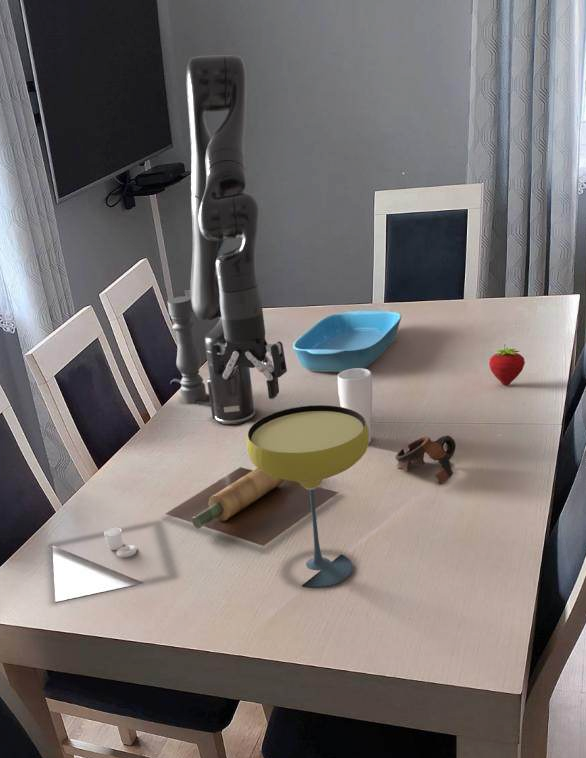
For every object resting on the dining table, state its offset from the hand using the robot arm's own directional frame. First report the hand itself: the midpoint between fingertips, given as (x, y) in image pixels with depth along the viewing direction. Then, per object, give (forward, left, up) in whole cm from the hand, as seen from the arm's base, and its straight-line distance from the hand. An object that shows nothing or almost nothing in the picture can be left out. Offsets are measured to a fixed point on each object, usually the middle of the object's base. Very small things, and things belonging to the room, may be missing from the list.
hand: (253, 396), depth 165 cm
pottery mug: (+28, +16, -18) cm, 37 cm away
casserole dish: (-25, +67, -18) cm, 74 cm away
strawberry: (+21, +61, -18) cm, 67 cm away
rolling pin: (+6, -11, -16) cm, 20 cm away
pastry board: (+6, -11, -17) cm, 21 cm away
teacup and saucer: (-4, -38, -18) cm, 42 cm away
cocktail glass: (+30, -22, -18) cm, 41 cm away
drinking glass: (+8, +22, -18) cm, 29 cm away
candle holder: (-44, +27, -18) cm, 55 cm away
